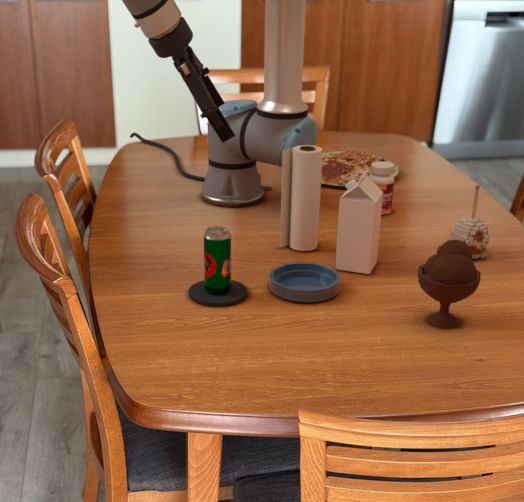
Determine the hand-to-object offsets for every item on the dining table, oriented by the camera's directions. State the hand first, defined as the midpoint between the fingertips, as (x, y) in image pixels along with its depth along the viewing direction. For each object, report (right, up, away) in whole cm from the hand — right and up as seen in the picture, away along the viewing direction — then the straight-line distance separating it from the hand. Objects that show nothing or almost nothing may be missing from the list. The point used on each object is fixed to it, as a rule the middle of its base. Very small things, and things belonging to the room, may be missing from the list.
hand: (223, 122), depth 164 cm
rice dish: (+30, +3, +66) cm, 72 cm away
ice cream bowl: (+40, -39, -11) cm, 57 cm away
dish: (+15, -32, 0) cm, 36 cm away
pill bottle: (+35, -11, +40) cm, 54 cm away
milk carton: (+27, -27, +11) cm, 39 cm away
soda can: (-1, -33, -3) cm, 33 cm away
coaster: (-1, -33, -2) cm, 33 cm away
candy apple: (+51, -23, +17) cm, 59 cm away
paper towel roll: (+16, -22, +20) cm, 33 cm away
